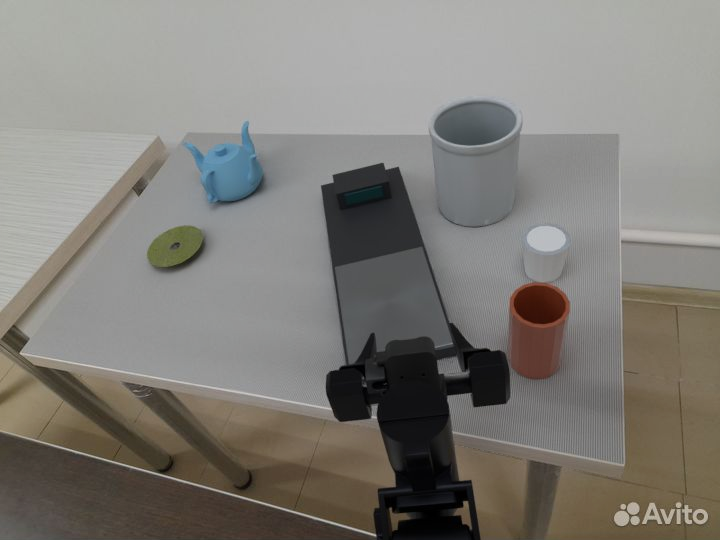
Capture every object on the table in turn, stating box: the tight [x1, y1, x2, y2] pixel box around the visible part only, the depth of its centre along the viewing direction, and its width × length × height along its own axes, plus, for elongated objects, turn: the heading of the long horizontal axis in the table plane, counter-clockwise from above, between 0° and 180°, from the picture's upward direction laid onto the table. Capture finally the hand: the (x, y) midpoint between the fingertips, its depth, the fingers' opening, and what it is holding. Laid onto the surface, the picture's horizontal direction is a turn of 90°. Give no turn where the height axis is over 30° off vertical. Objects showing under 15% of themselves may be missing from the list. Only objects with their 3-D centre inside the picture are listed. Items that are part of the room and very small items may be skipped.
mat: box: [146, 225, 204, 268], centre depth 102 cm, size 11×11×2 cm
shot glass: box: [521, 222, 572, 283], centre depth 80 cm, size 7×7×7 cm
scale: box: [320, 162, 457, 365], centre depth 89 cm, size 44×16×6 cm, turn 8°
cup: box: [507, 281, 571, 380], centre depth 68 cm, size 7×7×12 cm
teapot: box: [182, 120, 264, 204], centre depth 111 cm, size 15×15×10 cm
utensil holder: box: [428, 94, 524, 228], centre depth 90 cm, size 15×15×18 cm
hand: (411, 330), depth 61 cm, fingers open, 9 cm apart
